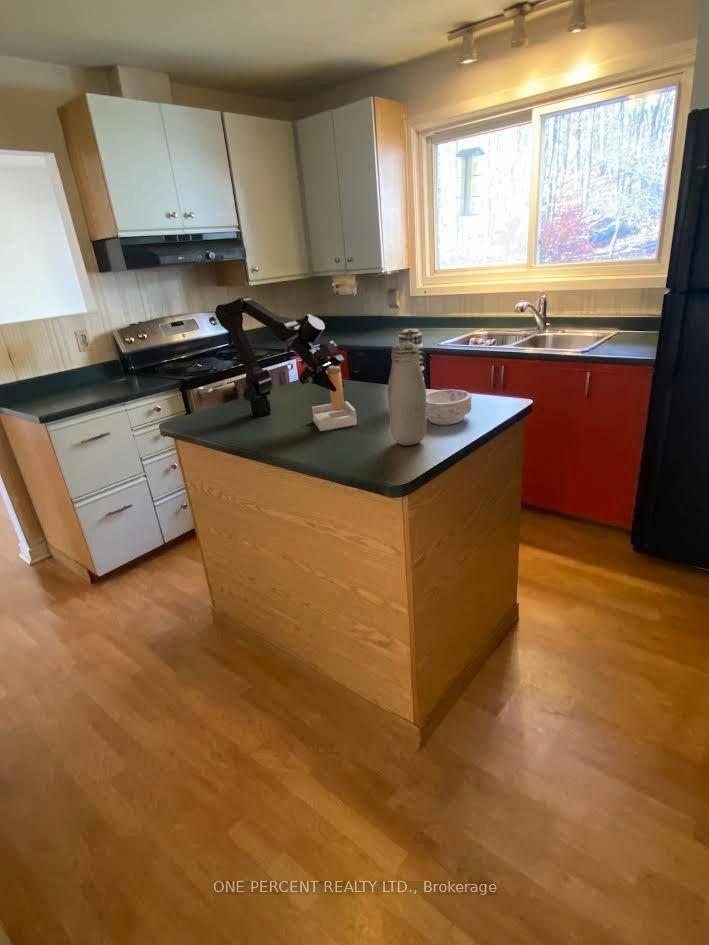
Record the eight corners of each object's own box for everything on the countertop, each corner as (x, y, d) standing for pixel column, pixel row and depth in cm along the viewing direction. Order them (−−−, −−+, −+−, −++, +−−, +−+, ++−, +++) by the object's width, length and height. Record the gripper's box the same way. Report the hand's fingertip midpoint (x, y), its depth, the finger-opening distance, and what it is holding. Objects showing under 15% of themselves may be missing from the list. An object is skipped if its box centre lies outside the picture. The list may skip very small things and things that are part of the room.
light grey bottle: (402, 453, 139) (396, 348, 128) (385, 442, 148) (378, 343, 136) (434, 444, 142) (430, 342, 131) (415, 434, 151) (410, 337, 140)
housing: (320, 431, 162) (318, 415, 160) (313, 421, 172) (311, 406, 170) (357, 424, 164) (355, 409, 162) (348, 415, 174) (347, 400, 172)
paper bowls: (411, 423, 160) (410, 398, 157) (440, 410, 170) (440, 386, 167) (452, 432, 150) (452, 405, 147) (480, 417, 160) (481, 392, 156)
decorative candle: (410, 408, 174) (406, 333, 164) (395, 402, 182) (390, 330, 172) (432, 402, 178) (429, 328, 168) (416, 397, 186) (413, 326, 176)
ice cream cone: (337, 411, 163) (333, 369, 157) (329, 409, 166) (324, 368, 160) (347, 408, 165) (342, 366, 160) (339, 406, 168) (334, 365, 162)
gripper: (301, 340, 151) (336, 379, 150) (336, 329, 165) (368, 364, 164) (284, 366, 158) (317, 403, 157) (319, 353, 172) (350, 387, 171)
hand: (339, 388), depth 162 cm, fingers closed on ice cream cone, 4 cm apart
